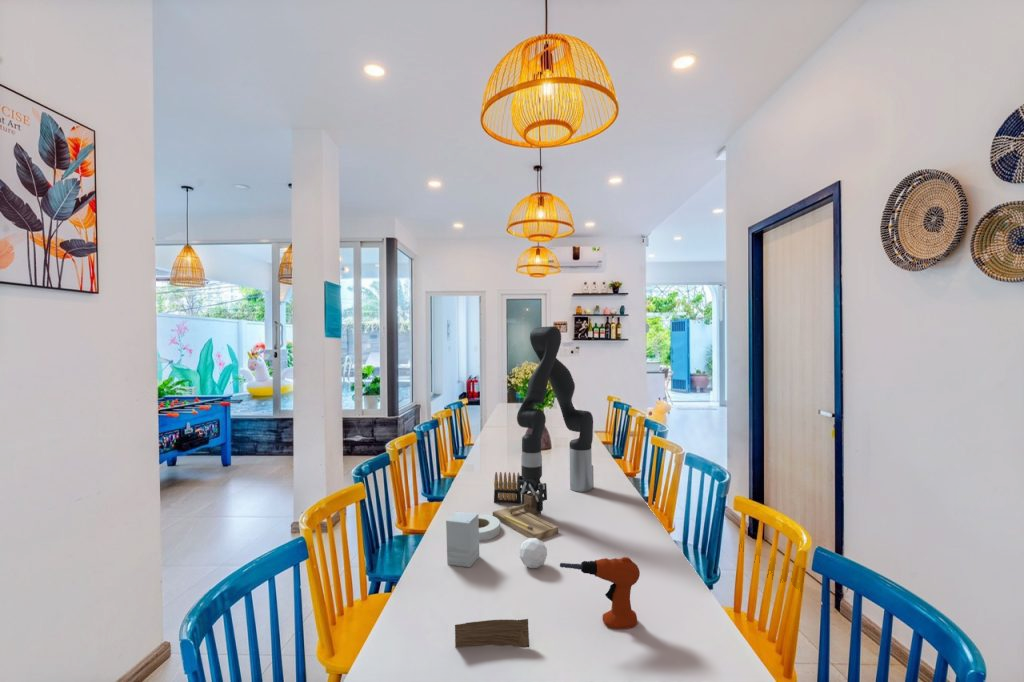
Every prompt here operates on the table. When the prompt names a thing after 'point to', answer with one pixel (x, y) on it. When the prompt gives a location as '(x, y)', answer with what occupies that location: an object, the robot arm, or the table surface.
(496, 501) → the ammunition clip
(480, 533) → the roll of tape
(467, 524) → the supplement box
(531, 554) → the ball
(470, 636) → the wood plank
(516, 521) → the pencil
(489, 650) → the table surface
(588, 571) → the toy drill
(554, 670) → the table surface
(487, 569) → the table surface
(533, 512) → the block on a post
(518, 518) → the board
